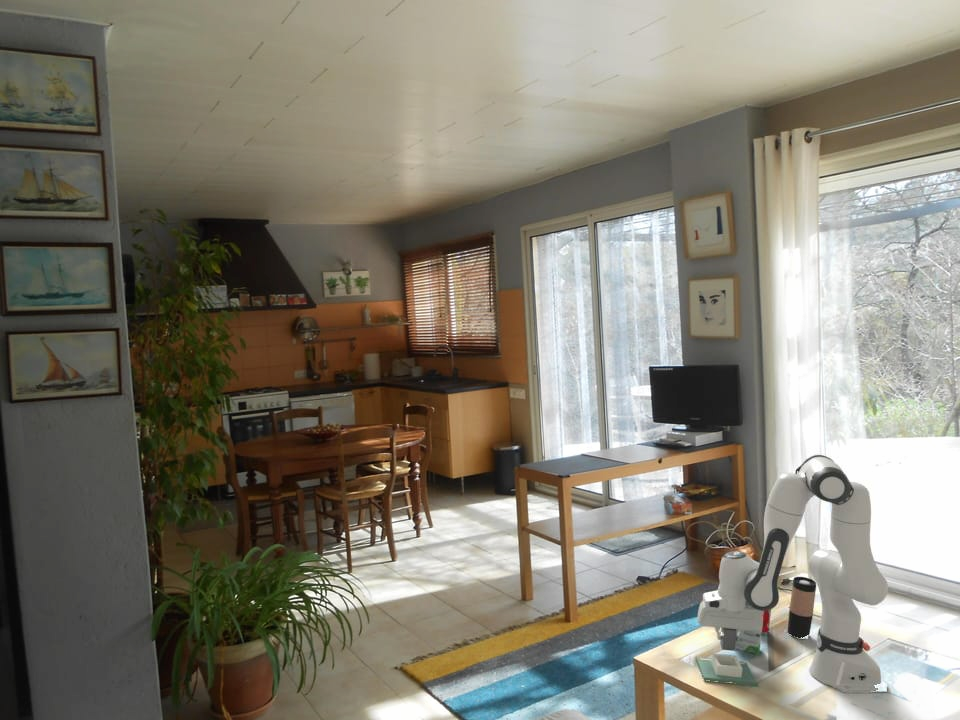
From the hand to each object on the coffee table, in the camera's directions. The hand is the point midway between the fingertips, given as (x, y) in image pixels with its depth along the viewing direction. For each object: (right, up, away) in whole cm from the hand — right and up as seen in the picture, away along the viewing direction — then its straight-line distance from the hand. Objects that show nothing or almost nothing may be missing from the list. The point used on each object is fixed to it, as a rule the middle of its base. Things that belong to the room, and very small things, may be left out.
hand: (728, 639), depth 245 cm
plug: (0, -3, 0) cm, 3 cm away
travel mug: (+31, -6, +19) cm, 37 cm away
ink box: (+8, -6, +7) cm, 12 cm away
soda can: (+17, -4, +20) cm, 27 cm away
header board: (-4, -7, -10) cm, 13 cm away
